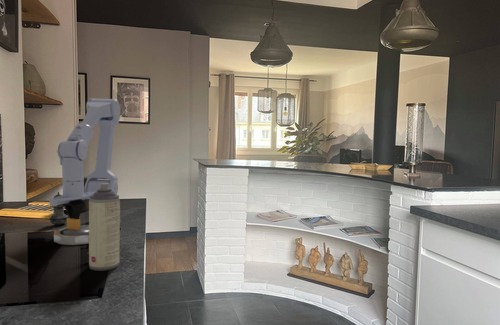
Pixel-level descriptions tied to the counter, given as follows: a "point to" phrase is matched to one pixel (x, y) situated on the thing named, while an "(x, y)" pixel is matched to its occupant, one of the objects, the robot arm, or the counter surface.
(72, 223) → the dial
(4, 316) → the counter surface
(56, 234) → the dial plate
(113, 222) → the aerosol can
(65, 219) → the grey chess piece
